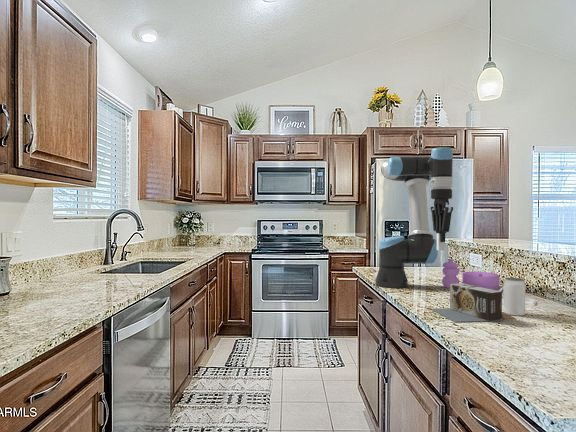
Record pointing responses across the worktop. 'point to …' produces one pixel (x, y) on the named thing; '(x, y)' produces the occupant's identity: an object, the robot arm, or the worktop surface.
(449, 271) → the container set
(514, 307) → the can
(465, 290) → the coffee box
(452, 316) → the mat
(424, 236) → the robot arm
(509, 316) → the turner
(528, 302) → the cloth
